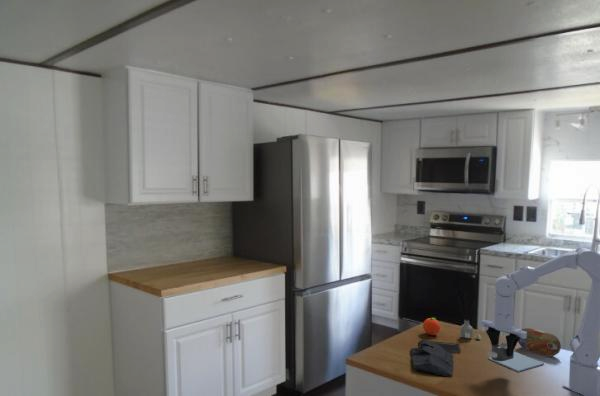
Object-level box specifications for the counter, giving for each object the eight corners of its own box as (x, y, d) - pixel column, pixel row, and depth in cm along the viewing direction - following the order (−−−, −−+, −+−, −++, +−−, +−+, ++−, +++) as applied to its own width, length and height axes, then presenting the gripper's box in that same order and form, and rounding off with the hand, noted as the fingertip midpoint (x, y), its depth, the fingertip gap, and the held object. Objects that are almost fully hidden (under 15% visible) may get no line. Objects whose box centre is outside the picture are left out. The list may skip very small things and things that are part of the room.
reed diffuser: (456, 339, 175) (457, 291, 175) (452, 333, 182) (454, 287, 182) (482, 341, 174) (484, 292, 173) (478, 335, 181) (479, 288, 180)
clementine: (428, 330, 186) (429, 313, 186) (443, 334, 181) (444, 317, 181) (419, 334, 180) (420, 317, 180) (435, 338, 176) (435, 321, 175)
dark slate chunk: (406, 372, 145) (406, 358, 145) (411, 349, 166) (411, 337, 166) (454, 380, 140) (454, 365, 140) (453, 354, 161) (454, 342, 161)
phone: (419, 339, 172) (458, 344, 168) (419, 342, 172) (458, 346, 168) (419, 346, 165) (460, 351, 161) (419, 349, 165) (460, 354, 161)
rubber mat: (543, 364, 152) (543, 363, 152) (518, 372, 146) (518, 370, 145) (513, 352, 163) (513, 351, 163) (488, 358, 156) (488, 357, 156)
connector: (516, 357, 143) (516, 345, 143) (496, 363, 139) (496, 350, 138) (505, 353, 147) (505, 341, 147) (485, 358, 142) (486, 346, 142)
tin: (516, 347, 168) (517, 325, 168) (520, 345, 170) (521, 324, 170) (557, 360, 156) (558, 337, 156) (561, 358, 158) (562, 335, 158)
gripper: (532, 316, 139) (530, 358, 139) (490, 305, 151) (488, 344, 151) (520, 320, 135) (519, 363, 135) (478, 309, 147) (477, 348, 147)
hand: (502, 353), depth 143 cm, fingers closed on connector, 4 cm apart
